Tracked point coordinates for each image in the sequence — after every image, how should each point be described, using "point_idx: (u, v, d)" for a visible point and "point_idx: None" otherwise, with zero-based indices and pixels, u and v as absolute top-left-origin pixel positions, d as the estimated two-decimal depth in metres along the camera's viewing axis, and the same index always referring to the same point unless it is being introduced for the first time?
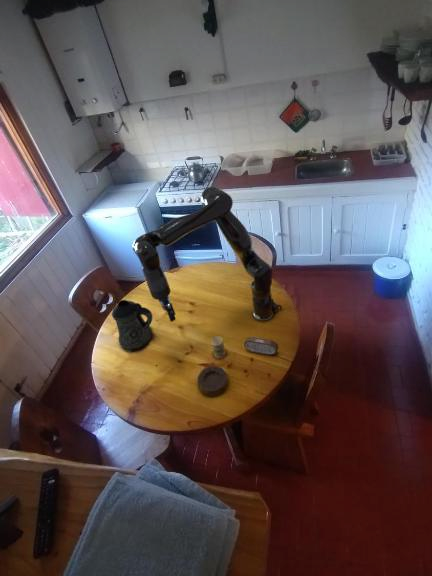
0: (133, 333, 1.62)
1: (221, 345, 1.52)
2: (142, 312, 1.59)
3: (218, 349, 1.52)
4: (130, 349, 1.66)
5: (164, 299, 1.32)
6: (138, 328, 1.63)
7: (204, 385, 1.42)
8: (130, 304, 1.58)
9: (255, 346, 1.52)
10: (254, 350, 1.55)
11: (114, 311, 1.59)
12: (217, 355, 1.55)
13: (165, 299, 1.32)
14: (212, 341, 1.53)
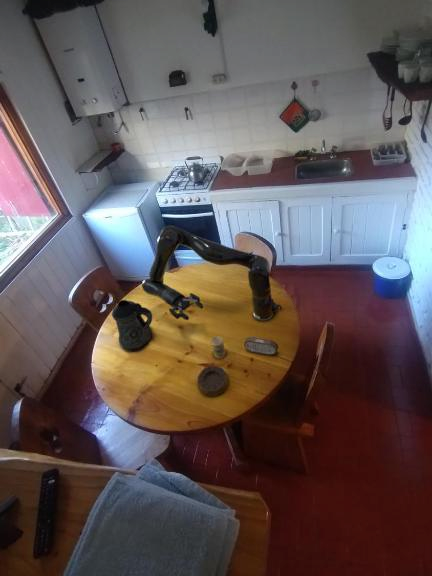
0: (133, 333, 1.62)
1: (221, 345, 1.52)
2: (142, 312, 1.59)
3: (218, 349, 1.52)
4: (130, 349, 1.66)
5: (173, 307, 1.58)
6: (138, 328, 1.63)
7: (204, 385, 1.42)
8: (130, 304, 1.58)
9: (255, 346, 1.52)
10: (254, 350, 1.55)
11: (114, 311, 1.59)
12: (217, 355, 1.55)
13: (173, 306, 1.58)
14: (212, 341, 1.53)
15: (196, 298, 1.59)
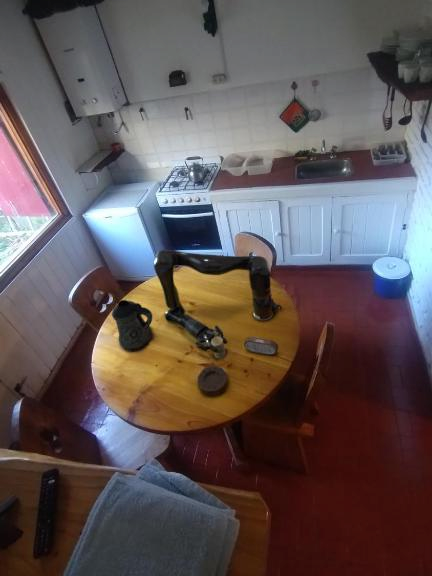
0: (133, 333, 1.62)
1: (221, 345, 1.52)
2: (142, 312, 1.59)
3: (218, 349, 1.52)
4: (130, 349, 1.66)
5: (197, 339, 1.58)
6: (138, 328, 1.63)
7: (204, 385, 1.42)
8: (130, 304, 1.58)
9: (255, 346, 1.52)
10: (254, 350, 1.55)
11: (114, 311, 1.59)
12: (217, 355, 1.55)
13: (197, 339, 1.58)
14: (212, 341, 1.53)
15: (219, 332, 1.58)
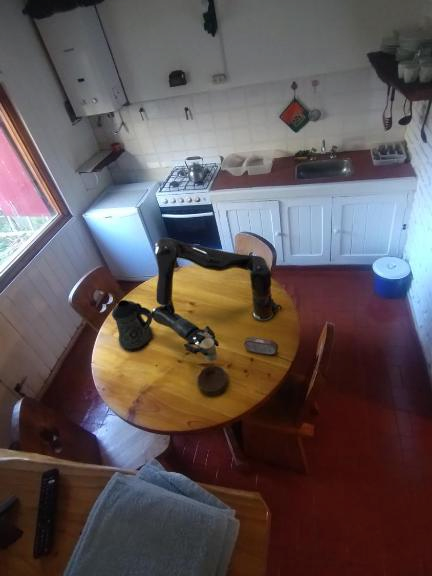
0: (133, 333, 1.62)
1: (212, 348, 1.38)
2: (142, 312, 1.59)
3: (209, 352, 1.38)
4: (130, 349, 1.66)
5: (186, 340, 1.44)
6: (138, 328, 1.63)
7: (204, 385, 1.42)
8: (130, 304, 1.58)
9: (255, 346, 1.52)
10: (254, 350, 1.55)
11: (114, 311, 1.59)
12: (208, 358, 1.41)
13: (187, 340, 1.44)
14: (202, 343, 1.39)
15: (211, 333, 1.43)
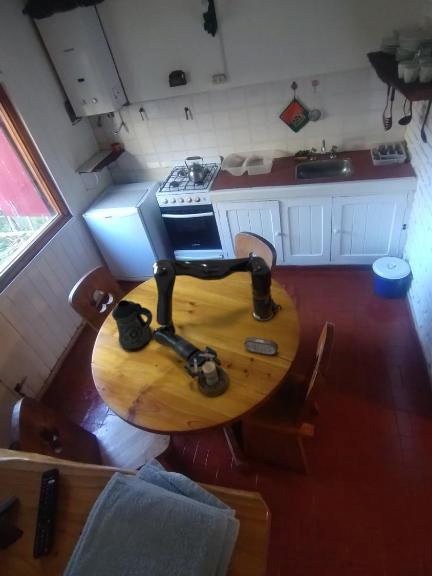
0: (133, 333, 1.62)
1: (213, 372, 1.39)
2: (142, 312, 1.59)
3: (210, 376, 1.39)
4: (130, 349, 1.66)
5: (188, 363, 1.44)
6: (138, 328, 1.63)
7: (204, 385, 1.42)
8: (130, 304, 1.58)
9: (255, 346, 1.52)
10: (254, 350, 1.55)
11: (114, 311, 1.59)
12: (209, 382, 1.42)
13: (188, 362, 1.44)
14: (203, 367, 1.40)
15: (213, 353, 1.45)
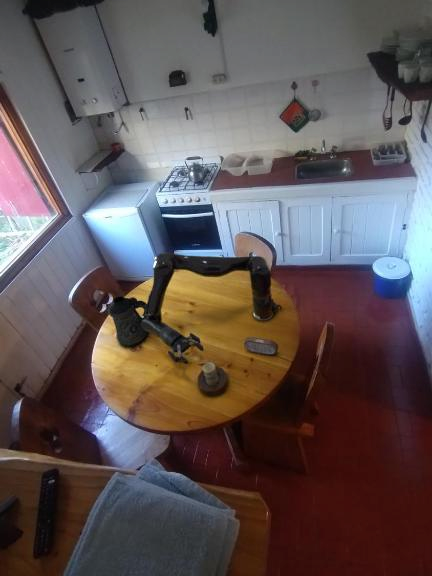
0: (133, 327, 1.64)
1: (213, 372, 1.39)
2: (139, 305, 1.62)
3: (210, 376, 1.39)
4: (131, 345, 1.68)
5: (172, 348, 1.50)
6: (137, 322, 1.65)
7: (204, 385, 1.42)
8: (126, 299, 1.61)
9: (255, 346, 1.52)
10: (254, 350, 1.55)
11: (111, 309, 1.60)
12: (209, 382, 1.42)
13: (172, 348, 1.49)
14: (203, 367, 1.40)
15: (196, 339, 1.50)
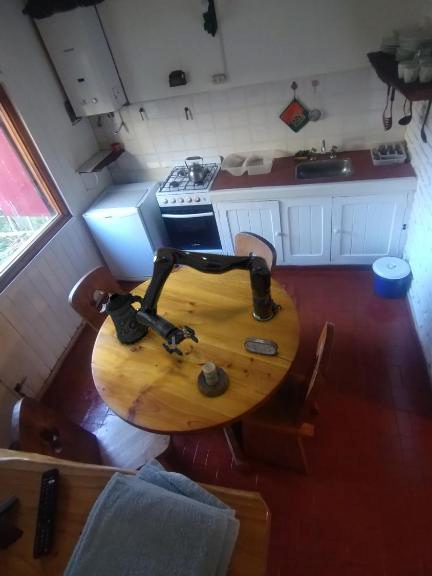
0: (132, 323, 1.65)
1: (213, 372, 1.39)
2: (135, 299, 1.64)
3: (210, 376, 1.39)
4: (133, 341, 1.68)
5: (166, 340, 1.49)
6: None
7: (204, 385, 1.42)
8: (121, 295, 1.62)
9: (255, 346, 1.52)
10: (254, 350, 1.55)
11: (108, 307, 1.61)
12: (209, 382, 1.42)
13: (166, 340, 1.49)
14: (203, 367, 1.40)
15: (191, 331, 1.50)
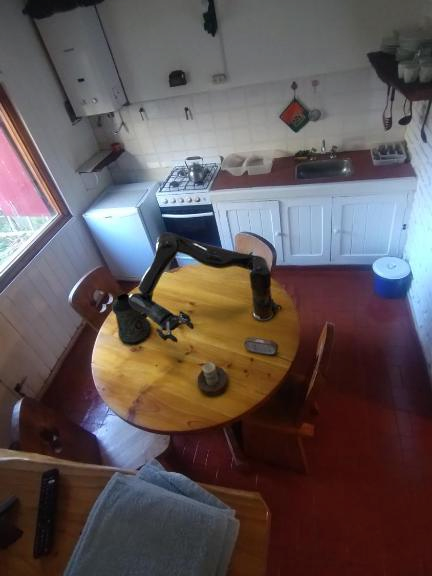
0: (138, 323, 1.66)
1: (213, 372, 1.39)
2: None
3: (210, 376, 1.39)
4: (137, 342, 1.69)
5: (161, 326, 1.44)
6: (141, 318, 1.68)
7: (204, 385, 1.42)
8: None
9: (255, 346, 1.52)
10: (254, 350, 1.55)
11: (116, 307, 1.61)
12: (209, 382, 1.42)
13: (161, 326, 1.44)
14: (203, 367, 1.40)
15: (186, 317, 1.44)
